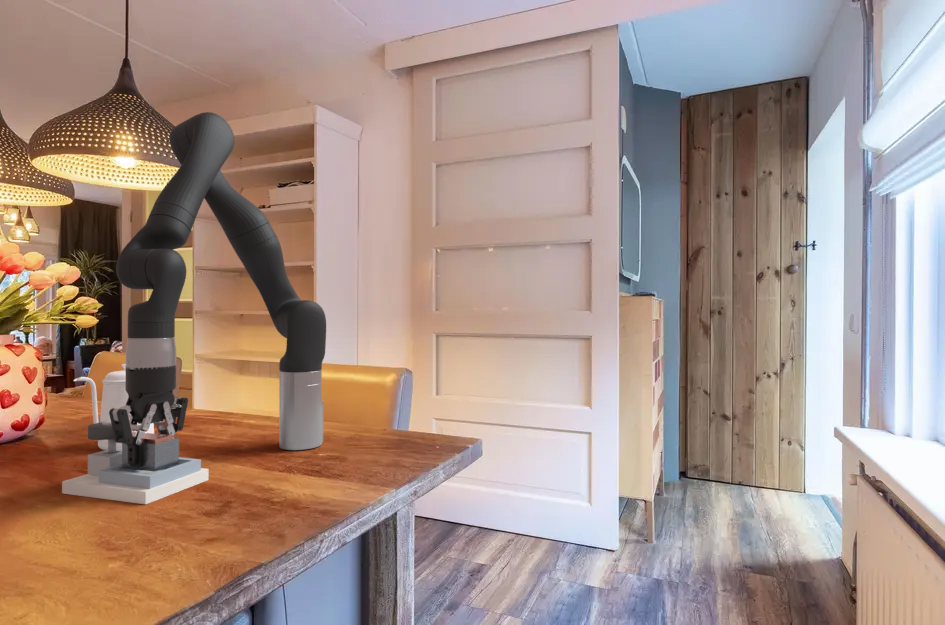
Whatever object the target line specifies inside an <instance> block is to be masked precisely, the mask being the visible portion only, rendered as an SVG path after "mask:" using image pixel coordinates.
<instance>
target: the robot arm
mask: <svg viewBox="0 0 945 625" xmlns="http://www.w3.org/2000/svg"><path fill="white" fill-rule="evenodd" d="M168 137H169V138H168V139H169V144H170V147H171V150H172V152H173V154H174V156H175V158H176V159H177V161H178V162H179V164H180V167H179V168H178V170H177V171H176V172H175V174H173V176H172V177H171V178H170V179H169V181H168V182H167V183H166V185H165V186H164V187H163V189H162V190H161V192H160V193H159V195H158V196H157V197H156V199H155V202H154V204H153V206H152V208H151V211H150V212H149V215H148V217H147V220H146V223H145V225H144V226H143V227H142V228H140V230H139V231H137V233H136V234H134V236H133V237H132V238H131V239H130V241H129V242H127V244H126V245H124V248H123V249H122V250H121V251H120V254H119V255H118V258H117V259H116V260H117V261H116V265H115V270H116V273H115V274H116V276H117V279H118V280H119V282H120V283H121V284H122V285H123V286H124V287H126V288H128V289H131V290H152V291H151V294H150V297H149V298H148V299H147V300H146V301H144V302H140V303H136V304H134V305H131V306H130V307H129V308H128V311H127V338H126V339H127V340H126V342H127V343H126V348H125V364H126V384H125V390H126V392H127V393H128V400H127V402H126V405H125V406H123V407H120V408H116V409H115V408H112V409H111V410H110V411H109V415H110V419H111V424H112V428H113V433H114V437H115V441H116V442H117V443H125V444H127V446H128V463H129V464H130V466H131V467H141V466H143V444H142V442H143V439H144V435H145V432H146V431H148V430H149V427H150V424H151V423H153V424H154V426H155V427H156V429H157V432H158V433H157V434H165V435H173V437H175V435H176V433H177V432H181V431H183V430H184V429H183V428H184V425H185V419H186V414H187V408H188V405H189V404H188V402H189V399H188V398H187V397H180V396H179V397H177V396H175V395H174V393H173V391H174V390H175V389H176V388H177V346H176V338H175V336H176V335H175V334H176V332H175V330H176V329H175V327H176V326H175V324H176V322H175V320H176V318H175V317H176V312H177V309H178V305H179V302H180V299H181V294H182V292H183V290H184V289H183V288H184V286H185V282H186V279H187V266H186V262H185V260H184V258H183V256H182V255H181V253H179V252H178V251H177V250H176V249H179V248H182V247H184V246H185V244H186V243H187V242H188V240H189V237H190V234H191V232H192V230H193V226H194V224H195V221H196V218H197V216H198V213H199V211H200V208H201V206H202V204H203V202H204V200H205V202H206V204H207V205H208V207H209V208H210V210H211V211H212V213H213V215H214V216H215V218H216V219H217V222H218V223H219V224H220V226H221V229H222V230H223V232H224V234H225V236H226V238H227V240H228V241H229V243H230V245H231V246H232V249H233V250H234V252H235V254H236V256H237V257H238V259H239V260H240V262H241V263H242V265H243V267H244V269H245V270H246V272H247V274H248V276H249V278H250V279H251V280H252V282H253V284H254V285H255V287H256V289H257V291H258V292H259V294H260V296H261V298H262V299H263V300H262V301H263V302H264V306H265V307H266V309H267V311H268V314H269V316H270V318H271V321H272V323H273V326H274V327H275V330H276V331H277V332H278V333H279V334H280V336H282V337H283V338H285V339H286V348H285V352H284V354H283V356H282V357H281V358H280V359H279V365H278V366H279V367H278V369H279V370H278V371H279V373H278V374H279V375H278V376H279V378H278V380H279V382H278V383H279V386H278V387H279V388H278V390H279V393H278V394H279V396H278V397H279V398H278V399H279V403H278V404H279V405H278V406H279V407H278V408H279V410H278V411H279V413H278V414H279V418H278V419H279V420H278V422H279V423H278V424H279V425H278V426H279V427H278V429H279V430H278V431H279V432H278V434H279V435H278V436H279V438H278V439H279V443H278V444H279V449H281V450H286V451H287V450H288V451H303V450H309V449H310V450H311V449H315V448H317V447H320V446H321V445H322V443H323V442H324V401H323V399H322V396H323V395H322V394H323V393H322V391H323V390H322V389H323V388H322V386H323V384H322V383H323V382H322V380H323V378H322V374H323V373H322V370H323V369H322V368H323V361H324V359H325V357H326V356H325V355H326V346H327V344H326V342H327V318H326V314H325V311H324V309H323V308H322V306H321V305H320V304H319V303H317V302H315V301H313V300H309V299H307V300H306V299H305V300H304V299H301V298H300V296H299V295H298V293H297V292H296V290H295V288H294V287H293V285H292V284H291V282H290V280H289V278H288V275H287V271H286V267H285V266H286V265H285V260H284V254H283V250H282V245H281V242H280V240H279V238H278V236H277V234H276V232H275V230H274V228H273V226H272V225H271V222H270V220H269V219H268V217H267V216H266V215H265V213H264V212H263V211H262V210H261V209H260V208H259V207H258V206H257V205H255V204H254V203H253V202H251V201H250V200H249V199H247V198H246V197H245V196H244V195H242V194H241V193H239V192H238V191H237V190H236V189H234V187H233V186H232V185H231V184H230V183H229V181H228V180H227V179H226V177H225V176H224V174H223V172H222V171H221V168H222V167H223V165H224V164H225V163H226V161H227V160H228V158H229V157H230V155H231V153H232V152H233V150H234V148H235V147H234V146H235V141H236V140H235V134H234V132H233V129H232V127H231V126H230V124H229V122H228V121H226V119H224V118H223V117H222V116H221V115H219V114H217V113H214V112H210V111H206V112H201V113H198V114H196V115H193V116H192V117H190V118H188V119H185V120H184V121H182V122H180V123H179V124H177V125H175V126H174V127H173V128H172V129H171V130H170V133H169V136H168ZM129 413H130V414H131V416H130V415H129ZM129 418H130V420H129ZM137 423H139V424H141V425H137ZM136 432H137V434H136ZM135 435H136V437H135Z"/></svg>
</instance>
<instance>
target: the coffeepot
mask: <svg viewBox="0 0 945 625" xmlns="http://www.w3.org/2000/svg"><path fill="white" fill-rule="evenodd" d="M121 367H122V368H123V370H122V369H121V370H115V371H111V372H108V373H107V374H106V375H105V377H104V379H102V380H101V384H103V385H102V396H101V406H100V415H99V413H98V412H99V411H98V395H97V385H96V383H95V381H94V380H93V378H90V377H87V376H79V377H77V378H74V379H73V382H87V383H89V385H90V392H91V406H92V418H93V419H92V421H93V424H95V423H100V422H102V421H105V420H111V419H110V415H109V411H110V410H111V409H112V408H115V409H116V408H120V407H123V406H125V405H126V402H127V400H128V393H127V392H126V390H125V384H126V363H122V364H121ZM129 415H130V416H131V414H130V413H129ZM99 416H100V417H99ZM129 420H130V418H129ZM137 425H141V424H139V423H137ZM154 426H155V425H154V424H153V423H151V424H150V427H149V430H148V431H146V432H145V434H146V433H152V434H155V428H154ZM136 434H137V432H136ZM135 436H136V435H135ZM97 446H98V448H99V449H101V451H104V450H108V440H97ZM116 448H121V449H122V443H117V442H116Z"/></svg>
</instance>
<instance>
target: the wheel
mask: <svg viewBox="0 0 945 625" xmlns="http://www.w3.org/2000/svg"><path fill="white" fill-rule="evenodd" d="M87 439H88V440H91V441H98V440H108V454H114V453H116V441H115V437H114V433H113V428H112V424H111V420H105V421H102V422H100V421H99V422H98V423H95V424H94V423H92V424H90V425H88V426H87Z"/></svg>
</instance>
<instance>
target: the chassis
mask: <svg viewBox="0 0 945 625" xmlns="http://www.w3.org/2000/svg"><path fill="white" fill-rule="evenodd" d="M209 470H210V469H209V468H203V467H202V459H198V458H190V457H180V456H179V464H176V465H173V466H170V467H167V468H164V469H161V470H158V471H155V472H154V471H145V470H135V469H125V468H122V449H121V448H116V453H114V454H108V450H100V451H96V452H93V453H89V454H87V473H86V474H83V475H80V476H76V477H72V478H70V479H65V480H63V481H61V494H66V495H72V496H80V497H86V498H95V499H101V500H110V501H115V502H116V501H117V502H125V503H132V504H140V505H147V504H151V503H154V502H156V501H158V500H161V499H163V498H166V497H168V496H171V495H173V494H176V493H178V492H181V491H184V490H186V489H189V488H192V487H195V486H197V485H199V484H201V483H204V482H207V481H209V475H210V473H209Z"/></svg>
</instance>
